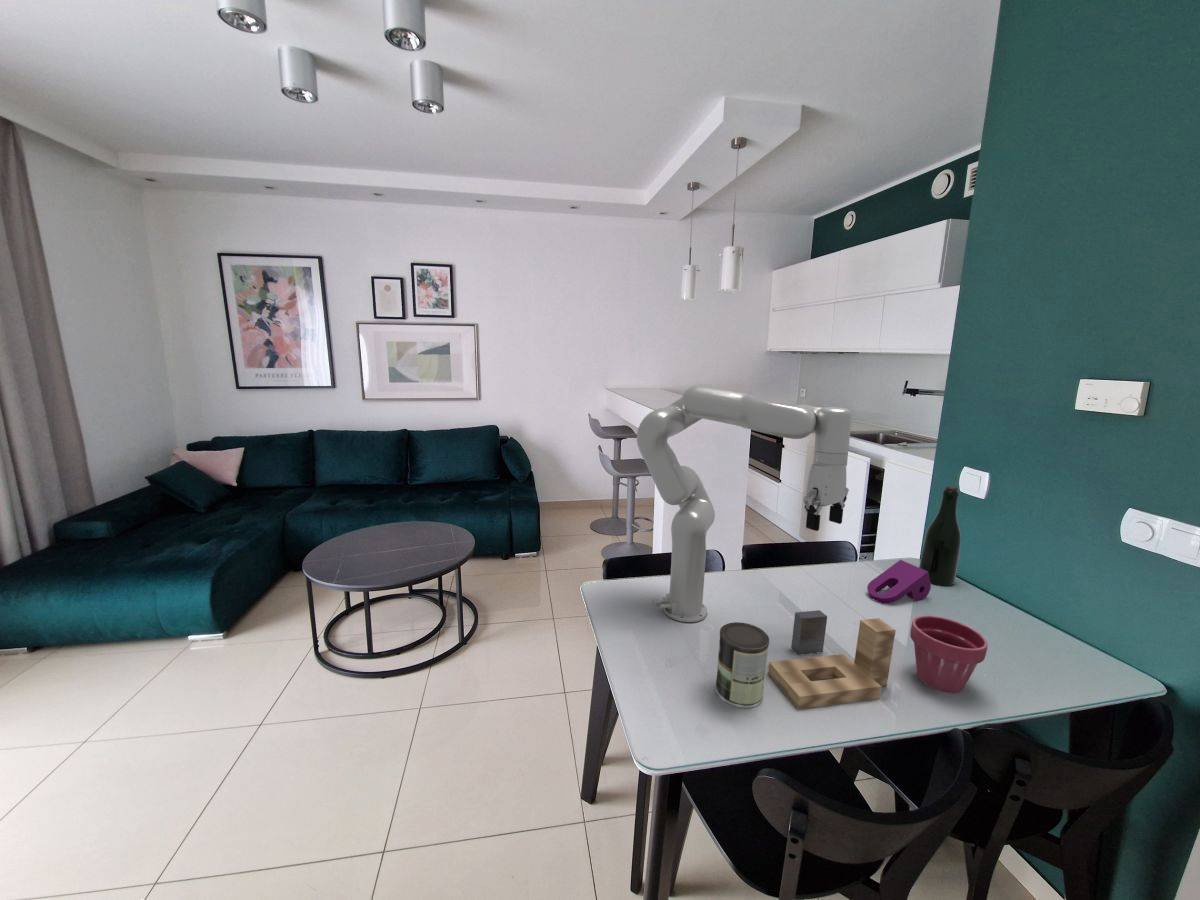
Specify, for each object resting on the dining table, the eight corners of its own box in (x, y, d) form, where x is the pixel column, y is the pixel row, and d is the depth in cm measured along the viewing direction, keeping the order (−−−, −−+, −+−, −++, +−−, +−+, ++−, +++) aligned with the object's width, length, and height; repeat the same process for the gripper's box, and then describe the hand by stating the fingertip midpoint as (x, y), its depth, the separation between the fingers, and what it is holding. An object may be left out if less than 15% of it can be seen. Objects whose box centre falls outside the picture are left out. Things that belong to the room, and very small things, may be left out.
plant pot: (983, 682, 115) (993, 632, 112) (970, 711, 105) (981, 657, 103) (913, 654, 125) (921, 608, 122) (896, 678, 115) (904, 628, 113)
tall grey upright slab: (797, 655, 123) (802, 618, 121) (791, 648, 126) (795, 612, 124) (822, 652, 125) (827, 616, 123) (815, 645, 128) (819, 610, 126)
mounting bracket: (891, 623, 151) (932, 592, 155) (886, 602, 148) (928, 571, 152) (865, 608, 159) (905, 579, 164) (860, 588, 157) (900, 559, 161)
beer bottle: (953, 578, 170) (969, 486, 164) (955, 589, 161) (973, 493, 155) (917, 570, 176) (932, 481, 169) (917, 581, 167) (933, 487, 161)
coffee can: (706, 693, 108) (711, 635, 105) (727, 671, 116) (732, 616, 113) (752, 716, 102) (758, 655, 99) (770, 691, 110) (776, 633, 107)
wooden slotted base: (798, 709, 104) (805, 649, 101) (767, 673, 116) (773, 619, 113) (898, 695, 109) (908, 638, 107) (860, 662, 121) (868, 610, 118)
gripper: (835, 452, 127) (829, 515, 130) (794, 459, 118) (789, 527, 121) (864, 457, 121) (857, 523, 124) (823, 465, 112) (817, 536, 115)
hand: (824, 525), depth 122 cm, fingers open, 9 cm apart
